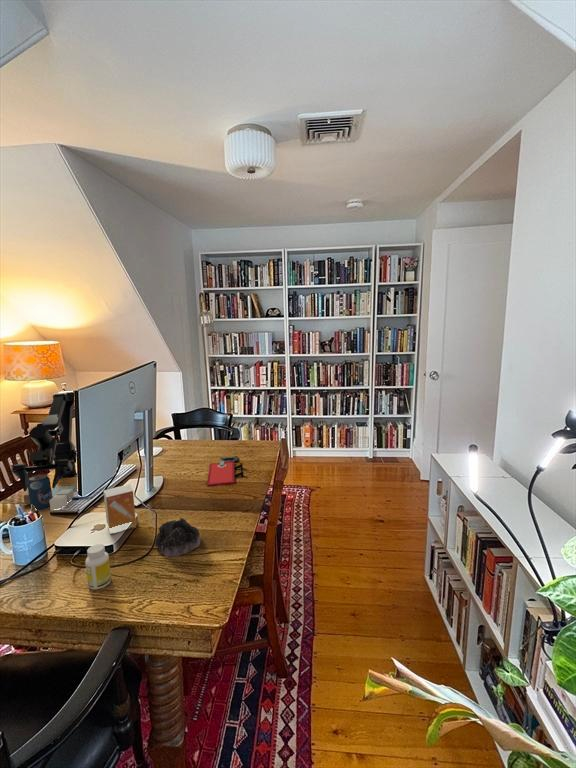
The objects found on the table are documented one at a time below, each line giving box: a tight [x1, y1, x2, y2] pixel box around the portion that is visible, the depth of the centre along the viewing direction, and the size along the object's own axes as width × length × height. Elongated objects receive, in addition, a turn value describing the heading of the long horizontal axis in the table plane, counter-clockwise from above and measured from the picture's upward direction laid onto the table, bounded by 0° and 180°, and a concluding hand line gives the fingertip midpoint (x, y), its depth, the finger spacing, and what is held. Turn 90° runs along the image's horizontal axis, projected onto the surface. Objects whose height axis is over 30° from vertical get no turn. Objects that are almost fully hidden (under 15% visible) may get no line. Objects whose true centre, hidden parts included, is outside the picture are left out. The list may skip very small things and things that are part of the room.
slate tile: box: [51, 485, 78, 498], centre depth 148 cm, size 9×9×1 cm
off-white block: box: [49, 495, 67, 511], centre depth 136 cm, size 4×4×4 cm
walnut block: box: [23, 491, 30, 505], centre depth 141 cm, size 4×4×4 cm
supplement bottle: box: [84, 543, 112, 590], centre depth 95 cm, size 5×5×10 cm
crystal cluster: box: [154, 517, 201, 558], centre depth 111 cm, size 13×14×10 cm
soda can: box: [27, 473, 52, 512], centre depth 136 cm, size 7×7×12 cm
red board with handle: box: [206, 456, 244, 487], centre depth 167 cm, size 30×3×15 cm
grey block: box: [57, 489, 75, 502], centre depth 141 cm, size 4×4×4 cm
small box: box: [103, 484, 137, 529], centre depth 121 cm, size 8×6×13 cm
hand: (39, 489), depth 135 cm, fingers open, 9 cm apart
